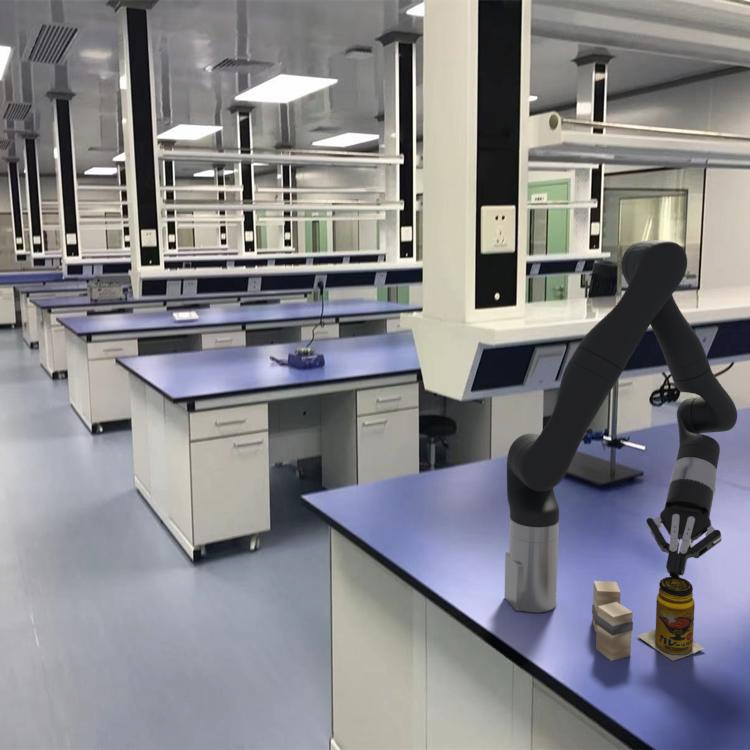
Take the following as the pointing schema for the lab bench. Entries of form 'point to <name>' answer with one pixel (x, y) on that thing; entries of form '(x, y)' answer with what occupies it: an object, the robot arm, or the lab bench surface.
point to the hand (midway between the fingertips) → (674, 575)
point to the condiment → (674, 620)
